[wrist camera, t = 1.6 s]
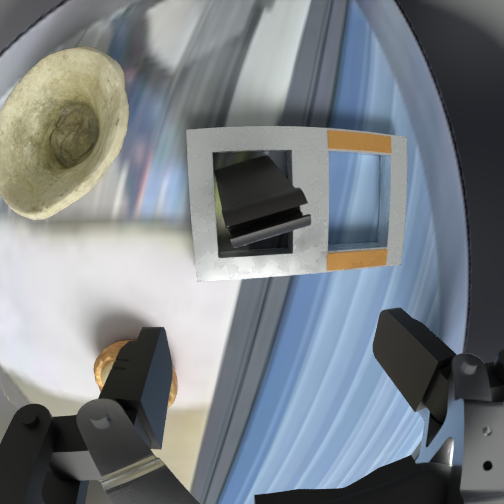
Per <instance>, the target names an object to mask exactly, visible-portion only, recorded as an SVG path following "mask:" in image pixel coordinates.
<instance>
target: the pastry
mask: <svg viewBox="0 0 504 504" xmlns="http://www.w3.org/2000/svg"><path fill="white" fill-rule="evenodd" d="M129 341H137V340H122V341H117V342H115V343H113V344H111V345H109V346H107V347H106V348H105V349H104V350H103V351H102V352H101V353H100V355H99V356H98V357H97V359H96V361H95V363H94V374H95V380H96V383H97V384H98V385H99V389H100V391H102V388H103V386H104V384H105V381H106V379H107V377H108V375H109V372H110V370H111V369H112V366H113V363H114V361H116V357H117V355H118V352H119V350H120V349H121V348H122V347H123V346H124V345H125V344H126V343H127V342H129ZM172 369H173V376H172V383H171V389H170V395H169V401H168V407H167V408H169V407H170V406H171V405H172V404H173V402H174V401H175V398H176V395H177V387H178V386H177V376H176V373H175V370H174V367H173V365H172Z"/></svg>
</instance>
